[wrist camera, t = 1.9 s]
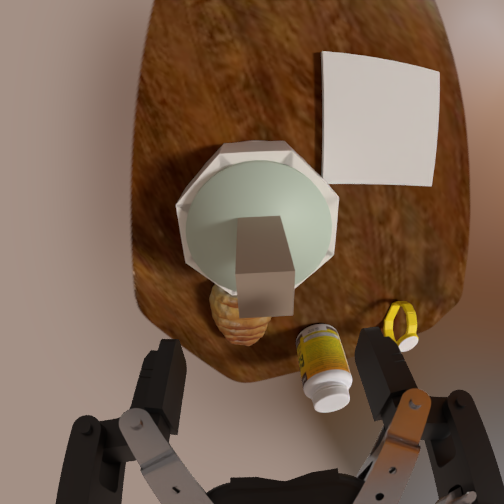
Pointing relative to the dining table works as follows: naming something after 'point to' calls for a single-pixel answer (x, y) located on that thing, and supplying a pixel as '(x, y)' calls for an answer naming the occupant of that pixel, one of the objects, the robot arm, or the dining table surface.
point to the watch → (410, 337)
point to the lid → (259, 233)
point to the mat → (378, 121)
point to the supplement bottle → (323, 367)
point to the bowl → (250, 152)
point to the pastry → (235, 319)
